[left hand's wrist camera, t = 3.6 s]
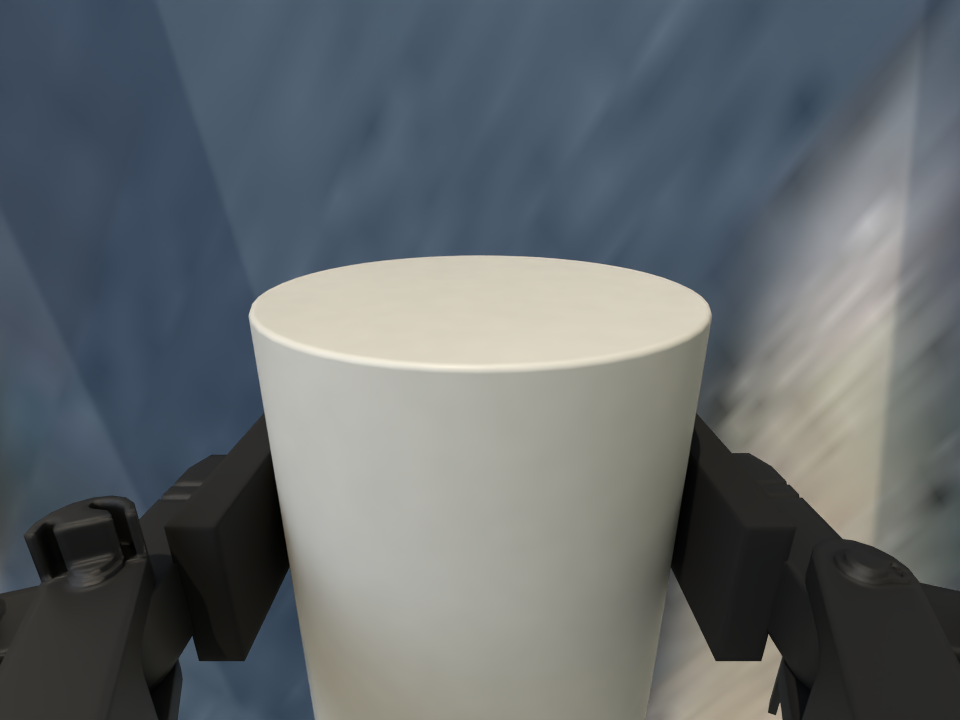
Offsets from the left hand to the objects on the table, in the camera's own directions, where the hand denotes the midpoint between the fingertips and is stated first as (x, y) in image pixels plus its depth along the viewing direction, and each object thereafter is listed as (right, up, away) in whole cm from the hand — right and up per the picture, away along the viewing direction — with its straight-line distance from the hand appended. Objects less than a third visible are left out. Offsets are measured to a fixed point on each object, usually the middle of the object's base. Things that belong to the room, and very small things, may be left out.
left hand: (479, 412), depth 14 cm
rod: (0, -8, +3) cm, 8 cm away
